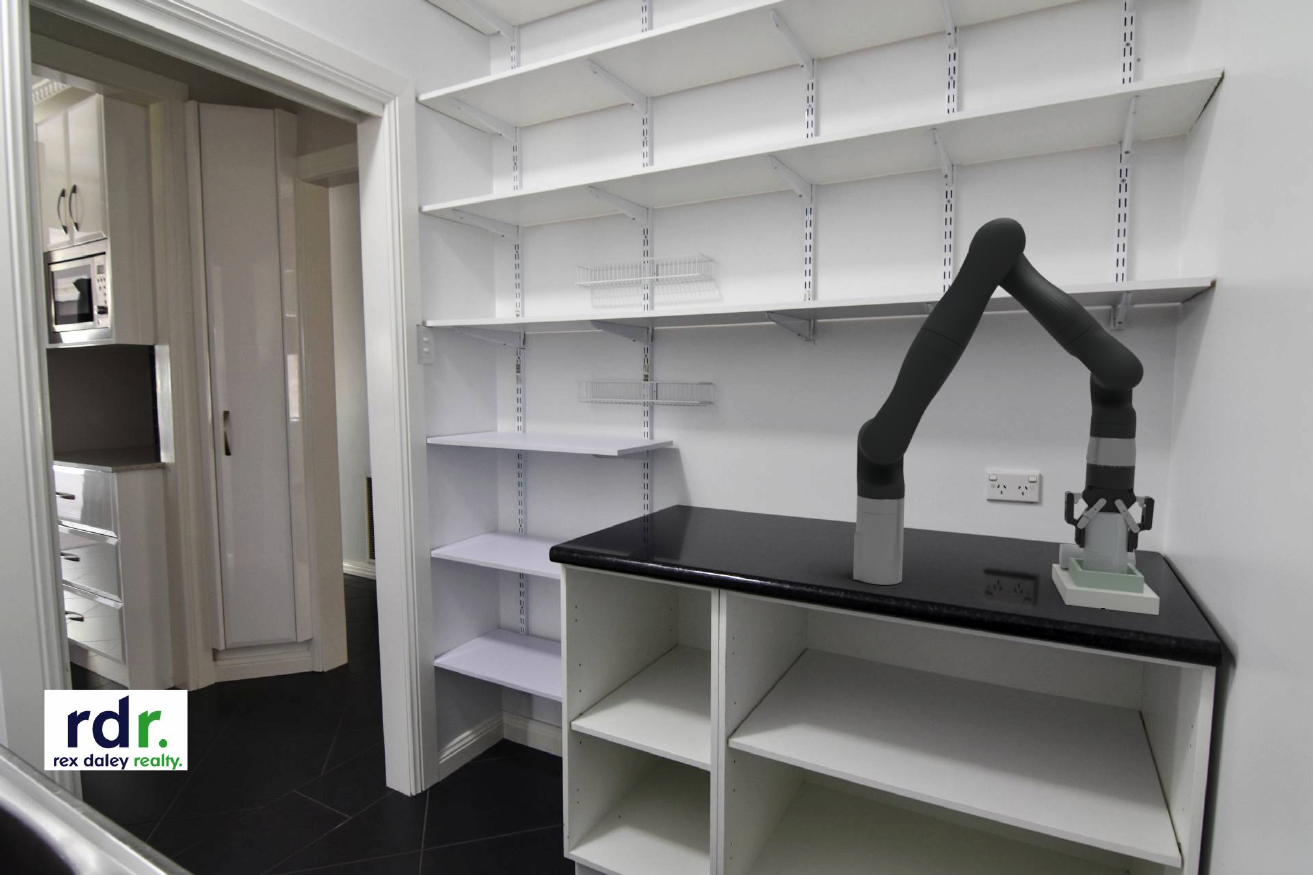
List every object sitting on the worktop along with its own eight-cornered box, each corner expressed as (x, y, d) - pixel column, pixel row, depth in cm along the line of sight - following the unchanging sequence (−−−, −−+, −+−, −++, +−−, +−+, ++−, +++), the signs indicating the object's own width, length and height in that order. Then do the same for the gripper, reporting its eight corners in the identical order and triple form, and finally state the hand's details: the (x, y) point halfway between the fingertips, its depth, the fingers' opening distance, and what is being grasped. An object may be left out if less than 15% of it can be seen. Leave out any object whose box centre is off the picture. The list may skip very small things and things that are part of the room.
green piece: (1077, 586, 125) (1078, 570, 124) (1068, 572, 134) (1069, 557, 134) (1143, 593, 121) (1144, 577, 120) (1129, 578, 130) (1130, 562, 130)
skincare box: (1127, 577, 126) (1132, 512, 125) (1115, 580, 124) (1119, 515, 122) (1092, 569, 131) (1096, 507, 130) (1079, 572, 129) (1083, 509, 128)
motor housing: (1065, 604, 124) (1068, 561, 123) (1051, 577, 140) (1053, 539, 140) (1158, 614, 118) (1161, 570, 118) (1132, 586, 135) (1135, 546, 134)
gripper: (1069, 462, 125) (1064, 550, 126) (1163, 466, 119) (1157, 558, 121) (1062, 457, 132) (1058, 541, 133) (1151, 461, 126) (1145, 548, 127)
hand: (1105, 549), depth 127 cm, fingers closed on skincare box, 7 cm apart
